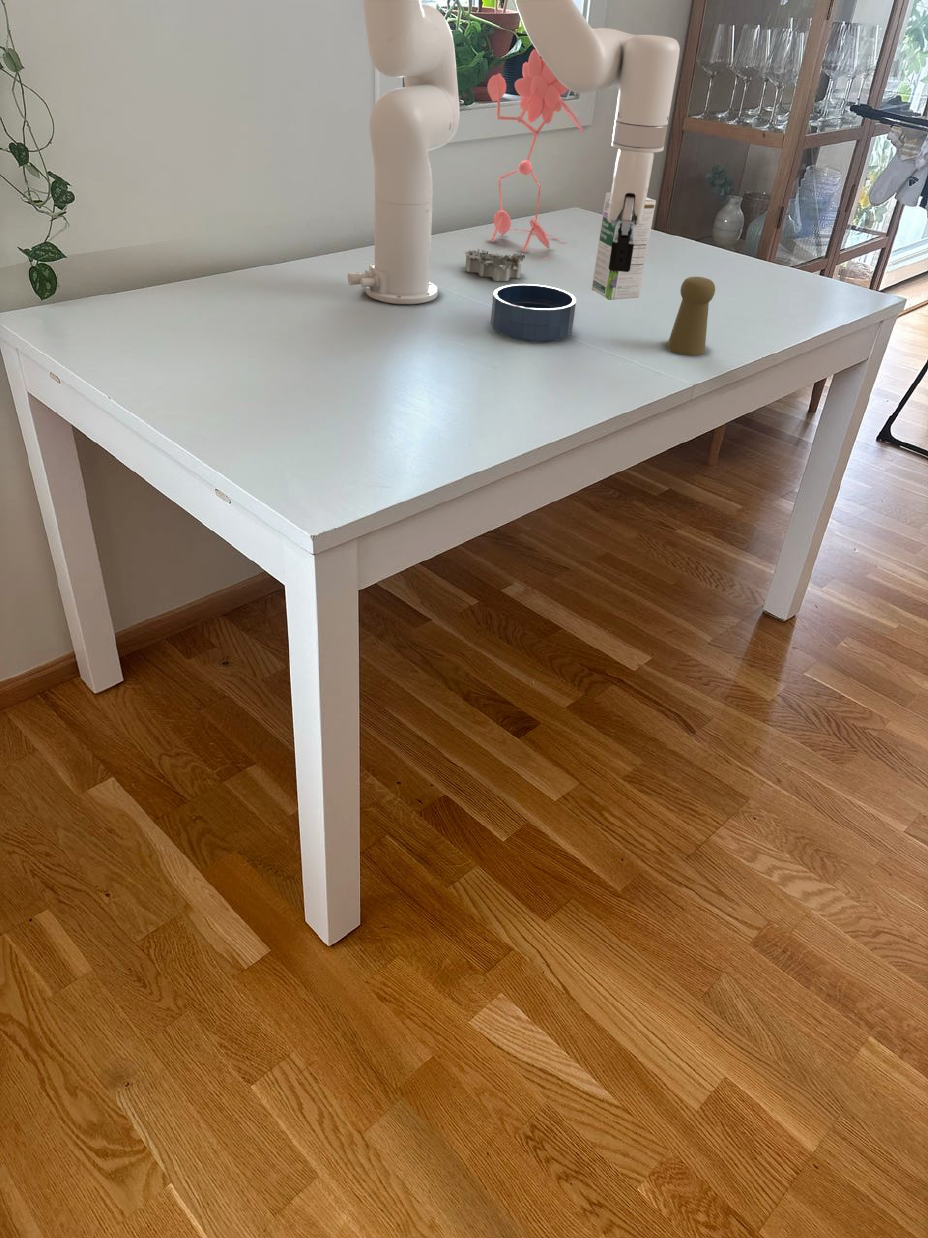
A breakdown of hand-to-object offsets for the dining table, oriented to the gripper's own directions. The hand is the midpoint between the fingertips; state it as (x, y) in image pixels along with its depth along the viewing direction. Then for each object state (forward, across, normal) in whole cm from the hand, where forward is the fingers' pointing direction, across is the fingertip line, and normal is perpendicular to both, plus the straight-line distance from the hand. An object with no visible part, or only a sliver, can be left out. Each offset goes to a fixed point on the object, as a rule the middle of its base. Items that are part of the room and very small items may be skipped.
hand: (619, 262), depth 144 cm
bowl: (+12, 0, -13) cm, 17 cm away
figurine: (+12, -56, -19) cm, 60 cm away
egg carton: (+12, -30, -23) cm, 40 cm away
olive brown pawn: (+12, 0, +12) cm, 17 cm away
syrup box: (+5, 0, 0) cm, 5 cm away
